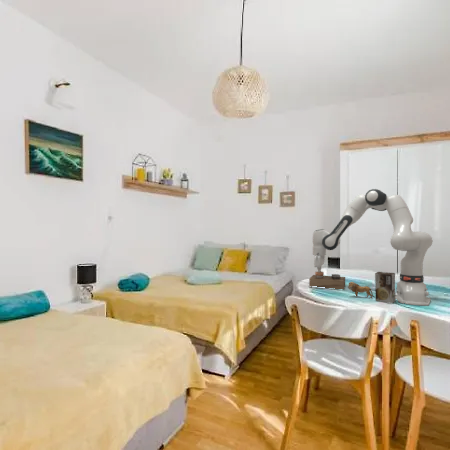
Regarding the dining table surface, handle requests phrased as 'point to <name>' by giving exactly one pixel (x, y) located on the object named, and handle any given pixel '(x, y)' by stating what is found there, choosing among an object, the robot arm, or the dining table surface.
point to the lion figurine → (360, 289)
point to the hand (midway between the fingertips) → (319, 272)
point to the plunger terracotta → (319, 274)
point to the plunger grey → (335, 276)
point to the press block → (327, 282)
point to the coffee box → (385, 287)
